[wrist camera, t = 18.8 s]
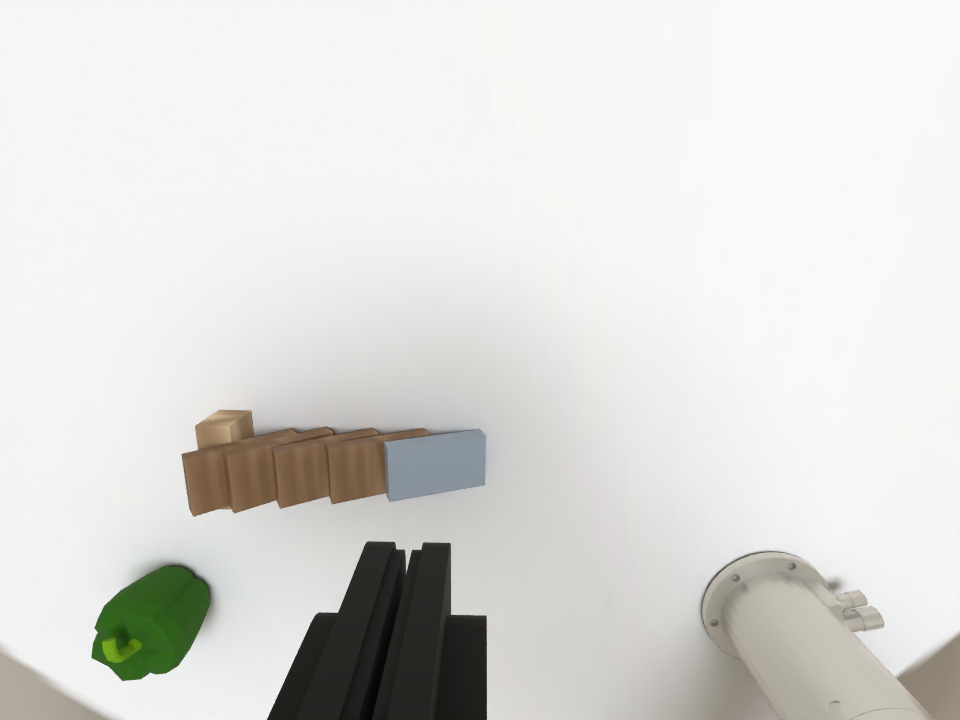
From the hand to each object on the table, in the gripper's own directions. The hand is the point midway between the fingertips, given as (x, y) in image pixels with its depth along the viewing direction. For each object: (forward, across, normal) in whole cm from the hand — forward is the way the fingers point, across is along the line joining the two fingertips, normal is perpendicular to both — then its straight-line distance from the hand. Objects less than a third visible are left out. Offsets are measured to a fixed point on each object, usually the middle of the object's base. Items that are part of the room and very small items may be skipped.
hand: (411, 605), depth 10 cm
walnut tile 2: (+34, +9, +13) cm, 38 cm away
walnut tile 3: (+34, +13, +13) cm, 39 cm away
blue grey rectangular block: (+34, -1, +13) cm, 37 cm away
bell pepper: (+35, +30, +29) cm, 54 cm away
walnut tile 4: (+34, +16, +13) cm, 40 cm away
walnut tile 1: (+34, +4, +13) cm, 37 cm away
